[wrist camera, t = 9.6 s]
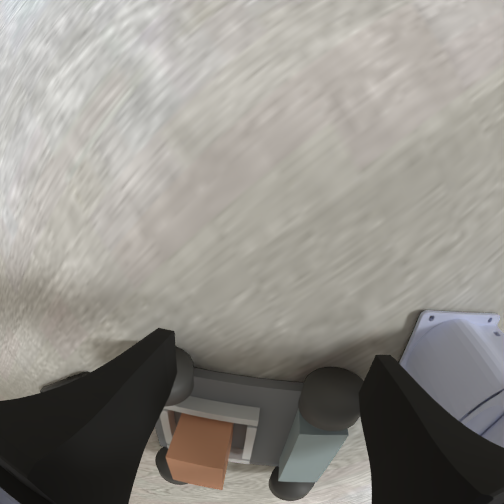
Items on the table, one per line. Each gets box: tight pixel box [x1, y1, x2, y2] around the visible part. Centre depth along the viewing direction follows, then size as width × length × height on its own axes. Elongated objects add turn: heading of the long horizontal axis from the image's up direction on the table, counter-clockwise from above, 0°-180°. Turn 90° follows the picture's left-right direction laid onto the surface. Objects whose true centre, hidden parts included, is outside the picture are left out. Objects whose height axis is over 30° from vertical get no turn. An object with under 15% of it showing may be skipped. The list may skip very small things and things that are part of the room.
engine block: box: [166, 413, 233, 490], centre depth 21 cm, size 4×5×6 cm
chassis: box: [155, 347, 364, 501], centre depth 22 cm, size 18×18×5 cm
